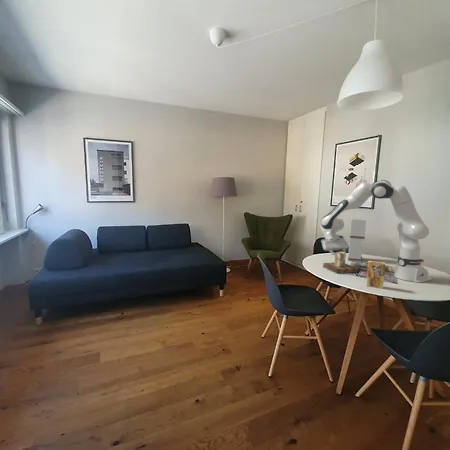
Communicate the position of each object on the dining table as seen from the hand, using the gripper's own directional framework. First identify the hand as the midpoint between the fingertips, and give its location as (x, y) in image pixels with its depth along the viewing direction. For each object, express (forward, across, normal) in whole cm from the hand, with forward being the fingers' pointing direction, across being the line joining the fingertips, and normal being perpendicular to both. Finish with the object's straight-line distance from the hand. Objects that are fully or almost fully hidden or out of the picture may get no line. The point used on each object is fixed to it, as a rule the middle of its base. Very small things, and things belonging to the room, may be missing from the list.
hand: (339, 254), depth 191 cm
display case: (-6, +32, +22) cm, 40 cm away
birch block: (+6, 0, +5) cm, 8 cm away
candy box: (+33, -1, -16) cm, 37 cm away
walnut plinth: (+8, 0, +7) cm, 11 cm away
